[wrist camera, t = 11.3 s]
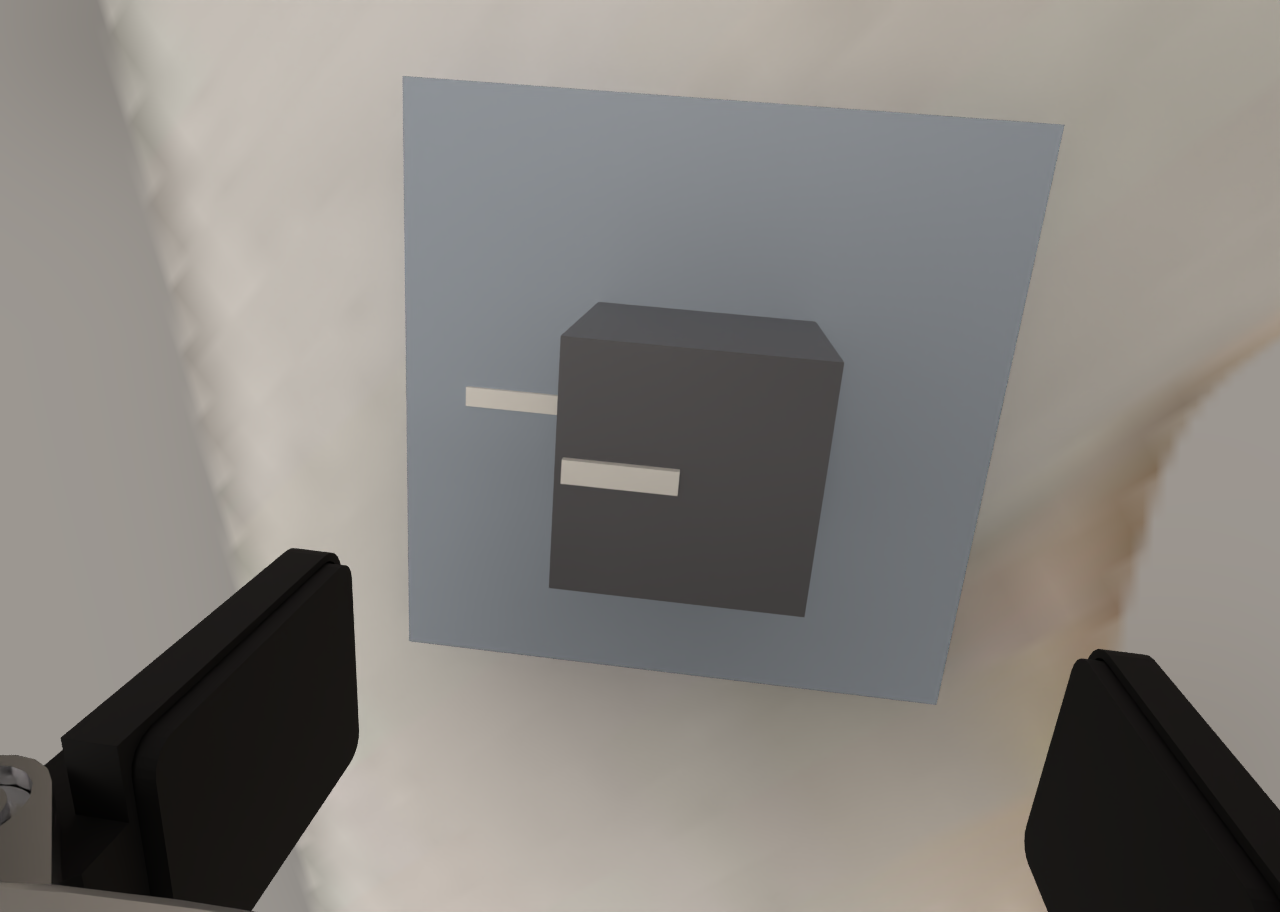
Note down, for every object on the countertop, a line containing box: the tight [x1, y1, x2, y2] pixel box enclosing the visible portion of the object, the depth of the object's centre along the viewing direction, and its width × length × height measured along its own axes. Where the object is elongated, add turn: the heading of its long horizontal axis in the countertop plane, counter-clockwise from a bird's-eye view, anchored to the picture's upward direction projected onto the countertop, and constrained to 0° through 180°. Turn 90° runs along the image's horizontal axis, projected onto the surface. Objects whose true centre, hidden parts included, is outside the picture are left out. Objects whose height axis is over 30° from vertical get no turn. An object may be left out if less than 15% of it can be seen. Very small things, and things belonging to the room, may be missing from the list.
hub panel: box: [403, 76, 1064, 705], centre depth 24 cm, size 18×18×6 cm
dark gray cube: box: [549, 302, 844, 617], centre depth 22 cm, size 6×6×6 cm
